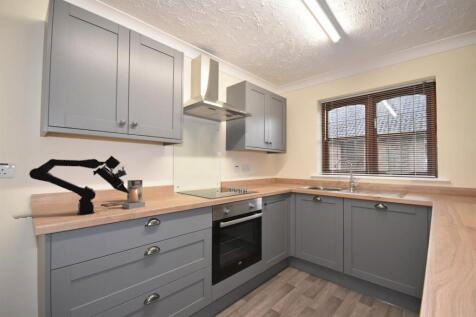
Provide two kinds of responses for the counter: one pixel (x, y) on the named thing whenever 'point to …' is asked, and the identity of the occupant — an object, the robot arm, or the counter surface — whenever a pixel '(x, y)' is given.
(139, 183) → the coffee box
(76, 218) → the counter surface
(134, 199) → the jar
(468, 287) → the counter surface
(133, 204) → the holder
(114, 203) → the trivet
